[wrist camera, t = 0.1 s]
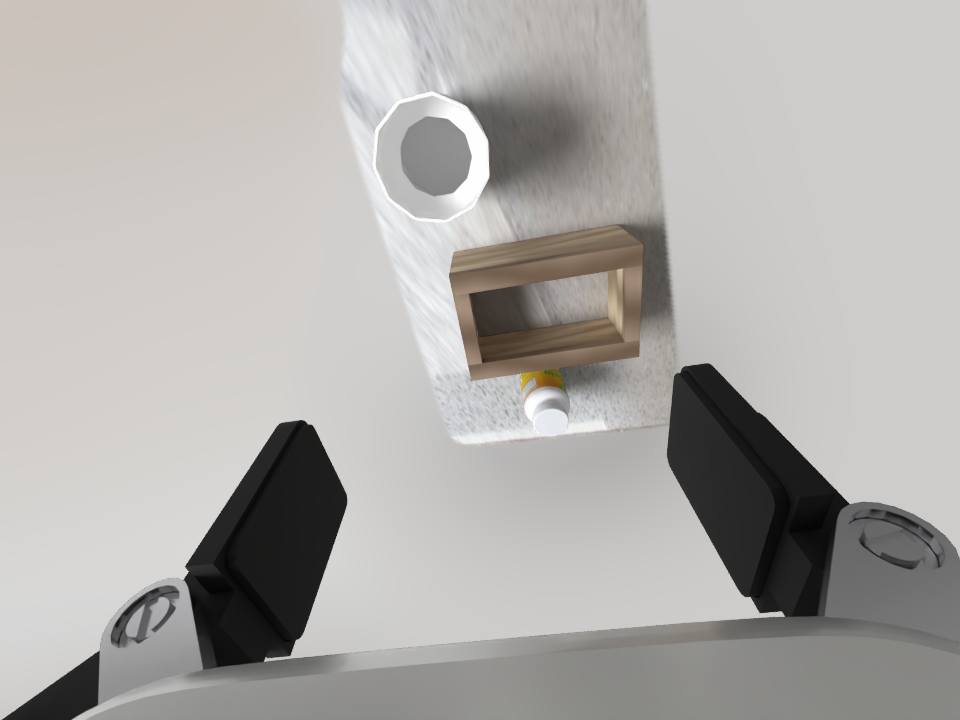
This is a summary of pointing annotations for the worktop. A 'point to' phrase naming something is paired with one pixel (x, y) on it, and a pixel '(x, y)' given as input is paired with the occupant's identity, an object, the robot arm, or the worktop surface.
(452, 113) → the vase
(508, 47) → the worktop surface
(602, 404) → the worktop surface
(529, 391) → the supplement bottle
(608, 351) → the wooden box
